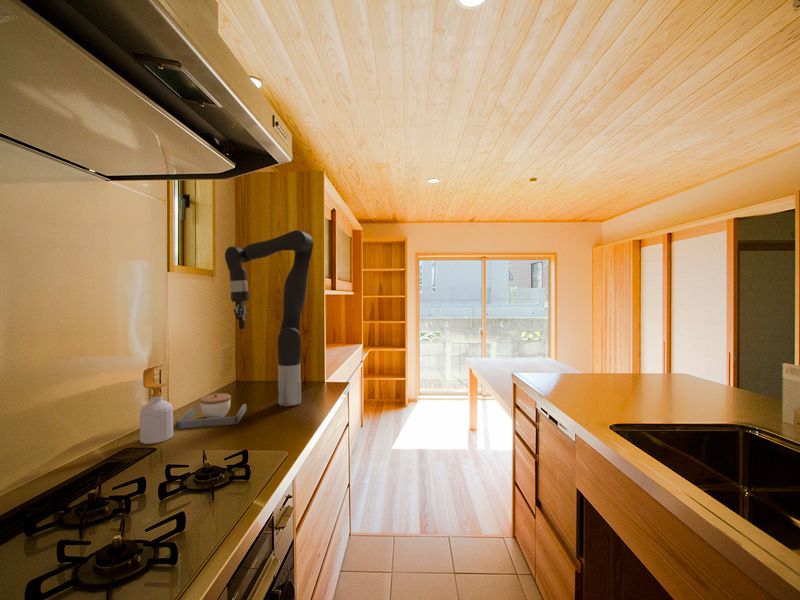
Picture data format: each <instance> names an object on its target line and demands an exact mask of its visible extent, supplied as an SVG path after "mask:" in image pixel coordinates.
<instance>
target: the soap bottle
mask: <svg viewBox="0 0 800 600" xmlns="http://www.w3.org/2000/svg"><path fill="white" fill-rule="evenodd" d="M163 366H165V364H164V363H162V364H159V365H155V366H152V367H149V368H146V369H144V370H143V372H142V379H143V380H142V382H143V383H142V384H143V385H142V386H143V387H144V388H145V389H151V391H152V392H153V393H151V394H150V396H149V398H150V400H149V402H148V403H146V404H145V405H143V406H141V408H140V411H139V441H140V443H142V444H146V445H153V444H159V443H163V442H167V440H169V439H172V438H173V436H174V407H173V405H172V403H170V402H168V401H166V400H164V399H163V392H160V390H162V388H163V387H166V386H167V383H155V382H154V370H155V369H156V368H159V367H163Z"/></svg>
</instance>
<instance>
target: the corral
mask: <svg viewBox="0 0 800 600" xmlns="http://www.w3.org/2000/svg"><path fill="white" fill-rule="evenodd" d="M246 412H247V403H243V404H242V405H241V406H240V408H239V410H238V411H237V412H236V414H235V415H234V416H224V417H220V418H207V417H205V418H197V419H196V418H194V419H192V417H193V416H194V415H195V414H196V407H194V406H192V407H190V409H189V410H187V411H186V412H184V414H182V416H181V417H180V418H178V419H177V420H176V421H175V425H176V426H175V427H176V428H175V429H176V430H177V428H180V429H190V428H192V429H193V428H202V427H203V428H204V426H205V427H217V426H229V425H231V426H232V425H238V424H239V422H240V421H241V420H242V418H243V416H244V414H245V413H246Z"/></svg>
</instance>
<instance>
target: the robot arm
mask: <svg viewBox="0 0 800 600" xmlns="http://www.w3.org/2000/svg"><path fill="white" fill-rule="evenodd" d="M313 249H314V240H313V236H311V234H308V233H307V232H305V231H302V230H300V229H299V230H297V229H296V230H292V231H290V232H287V233H285V234H282V235H280V236H277V237H274V238H271V239H267V240H262V241H258V242H255V243H254V242H253V243H250V244H247V245H246V246H244V247H238V246H229V247H227V248H226V249H225V252H224V259H225V263H226V265H227V269H228V271H229V281H230V282H229V283H230V284H229V289H230V291H229V292H230V301H231V302H232V303H235V306H234V309H233V312H234V315H235V319H236V320H237V321H238V328H239V330H243V329H245V328H246V322H245V321H246V320H247V315H248V307H247V304H246V302H249V300H250V295H249V284H248V277H247V276H248V275H247V270H246V269H245V268H244V267H243V266H242V265H241V264H243V263H244V264H245V263H248V262H251V261H254V260H257V259H258V260H259V259H263V258H267V257H269V256H272V255H274V254H276V253H278V252H282V251H283V252H284V251H293V252H294V259H293V265H292V267H291V269H290V270H289V272H288V274H287V277H286V279H285V282H284V287H283V288H284V289H283V299H282V300H283V301H282V303H283V305H282V306H283V314H282V315H283V316H282V320H281V324H280V325H281V326H280V330H279V333H278V336H277V363H278V366H277V367H278V374H277V375H278V378H277V379H278V381H277V382H278V405H279V406H283V407H292V406H297V405H301V403H302V379H301V378H302V377H301V374H302V373H301V355H302V354H301V333H300V332H301V331H300V328H301V327H300V325H301V323H300V322H301V314H302V311H303V308H304V304H305V300H306V294H307V286H308V283H307V282H308V275H309V267H310V262H311V259H312V257H311V256H312V253H313Z"/></svg>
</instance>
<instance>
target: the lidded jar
mask: <svg viewBox="0 0 800 600" xmlns="http://www.w3.org/2000/svg"><path fill="white" fill-rule="evenodd" d="M199 402H200V404H199V405H200V409H201V413H202V415H203V416H204V418H220V417H226V415H227V414H228V412H229V410H230V409H231V402H232V396H231V394H229V393H218V392H214V393H213V394H208V395H204V396H202V397H200V399H199Z"/></svg>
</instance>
